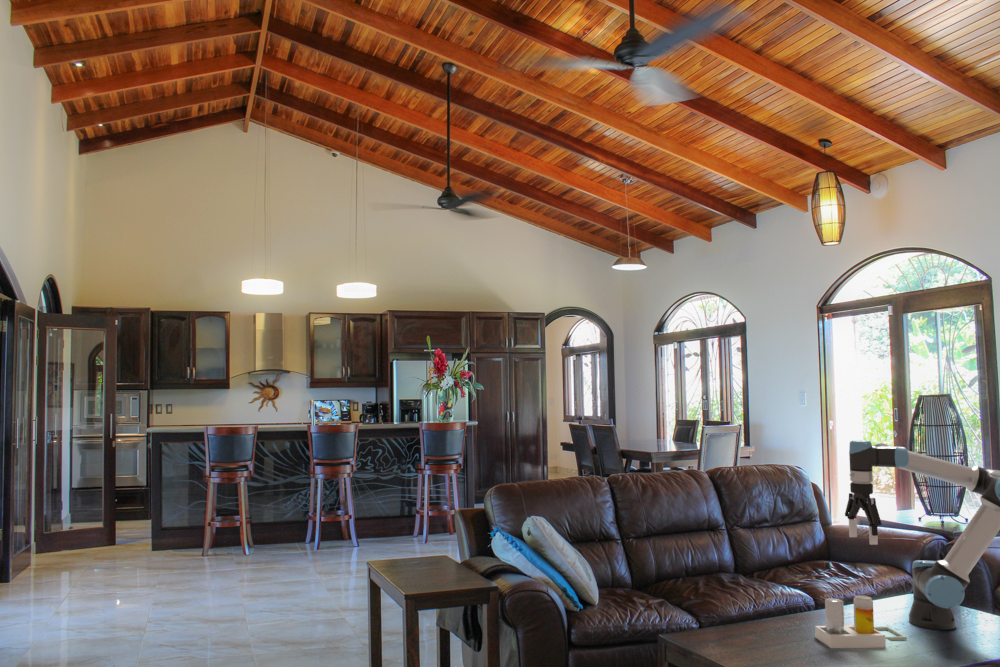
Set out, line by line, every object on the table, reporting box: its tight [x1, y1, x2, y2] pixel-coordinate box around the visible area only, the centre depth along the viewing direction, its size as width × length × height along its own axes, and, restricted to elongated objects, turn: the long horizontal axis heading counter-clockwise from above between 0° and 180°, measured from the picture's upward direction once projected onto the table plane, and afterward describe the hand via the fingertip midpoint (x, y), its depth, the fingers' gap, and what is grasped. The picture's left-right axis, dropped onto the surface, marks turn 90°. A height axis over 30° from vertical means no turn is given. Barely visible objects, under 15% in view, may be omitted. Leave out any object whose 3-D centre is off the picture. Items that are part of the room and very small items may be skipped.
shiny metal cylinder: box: [824, 597, 845, 635], centre depth 259 cm, size 6×6×14 cm
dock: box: [814, 624, 887, 649], centre depth 259 cm, size 19×11×4 cm, turn 94°
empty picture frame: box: [874, 626, 908, 641], centre depth 268 cm, size 11×11×1 cm
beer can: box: [853, 594, 875, 634], centre depth 259 cm, size 6×6×15 cm
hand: (863, 540), depth 277 cm, fingers open, 13 cm apart
